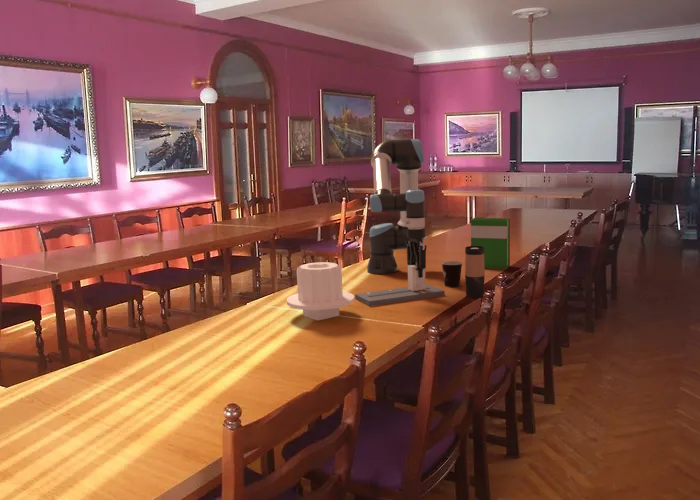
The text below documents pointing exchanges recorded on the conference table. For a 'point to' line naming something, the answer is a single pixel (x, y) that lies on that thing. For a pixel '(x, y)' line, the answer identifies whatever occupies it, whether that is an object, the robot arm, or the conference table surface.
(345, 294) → the ribbed cylinder on disc
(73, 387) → the conference table surface
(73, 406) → the conference table surface
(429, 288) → the fader console
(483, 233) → the hardback book
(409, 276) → the fader tab
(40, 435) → the conference table surface
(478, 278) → the travel mug
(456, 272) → the coffee mug
